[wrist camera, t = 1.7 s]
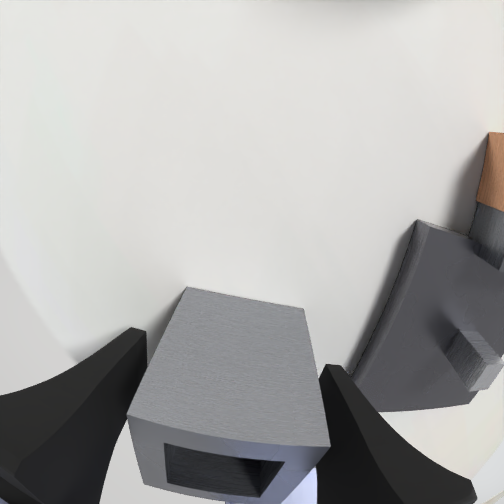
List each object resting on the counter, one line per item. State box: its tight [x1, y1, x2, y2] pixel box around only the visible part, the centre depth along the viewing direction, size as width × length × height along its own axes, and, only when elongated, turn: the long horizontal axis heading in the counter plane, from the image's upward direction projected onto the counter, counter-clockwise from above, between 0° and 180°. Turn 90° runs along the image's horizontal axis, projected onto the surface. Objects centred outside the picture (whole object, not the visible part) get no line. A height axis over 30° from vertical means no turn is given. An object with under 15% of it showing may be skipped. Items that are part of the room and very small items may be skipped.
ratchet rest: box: [351, 132, 504, 412], centre depth 9 cm, size 14×9×4 cm, turn 169°
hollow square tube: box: [127, 287, 331, 504], centre depth 9 cm, size 4×4×6 cm
